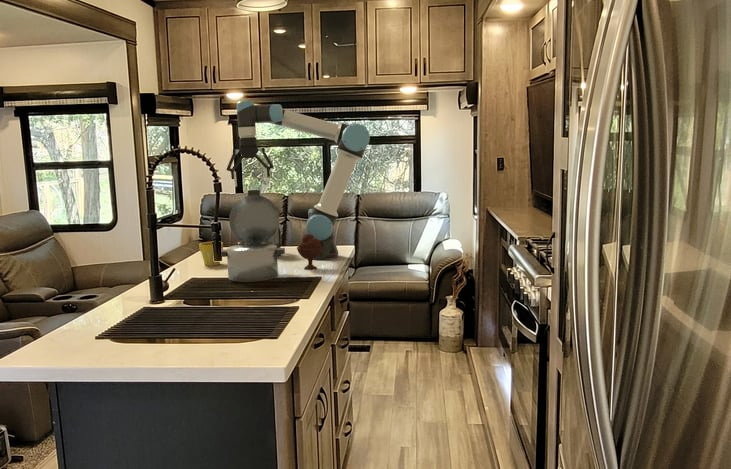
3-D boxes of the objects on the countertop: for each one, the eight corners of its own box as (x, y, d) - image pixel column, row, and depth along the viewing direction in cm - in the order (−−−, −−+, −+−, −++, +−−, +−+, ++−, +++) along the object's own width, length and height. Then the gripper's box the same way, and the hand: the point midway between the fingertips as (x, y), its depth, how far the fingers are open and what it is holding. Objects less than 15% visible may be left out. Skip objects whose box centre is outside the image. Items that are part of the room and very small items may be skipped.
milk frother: (278, 257, 292) (277, 226, 290) (245, 258, 292) (244, 227, 290) (283, 252, 306) (281, 223, 304) (251, 253, 306) (250, 223, 304)
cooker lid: (279, 244, 260) (280, 245, 263) (278, 189, 262) (279, 190, 266) (229, 246, 258) (231, 247, 262) (228, 190, 261) (230, 192, 265)
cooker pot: (286, 270, 261) (285, 242, 259) (283, 280, 241) (282, 250, 240) (225, 272, 260) (223, 244, 258) (216, 283, 240) (215, 252, 238)
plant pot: (220, 266, 274) (219, 244, 272) (197, 266, 274) (196, 245, 273) (226, 262, 284) (225, 241, 283) (204, 262, 284) (202, 241, 283)
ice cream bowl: (293, 270, 260) (291, 235, 258) (305, 265, 270) (304, 231, 268) (315, 271, 256) (314, 236, 254) (327, 266, 266) (326, 232, 264)
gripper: (276, 135, 273) (279, 183, 276) (219, 138, 270) (223, 186, 273) (276, 135, 266) (280, 184, 269) (217, 138, 263) (222, 187, 266)
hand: (251, 185), depth 271 cm, fingers open, 13 cm apart
